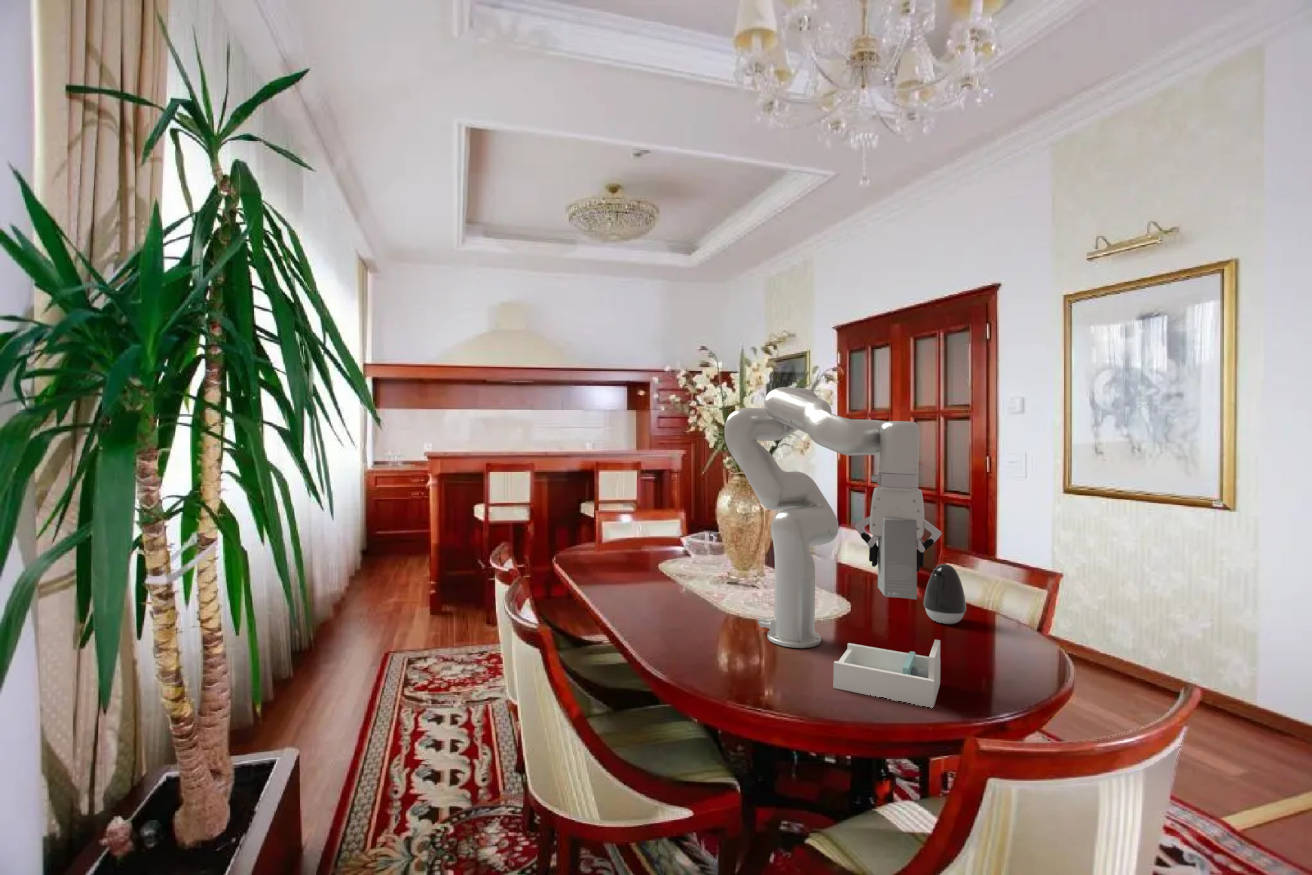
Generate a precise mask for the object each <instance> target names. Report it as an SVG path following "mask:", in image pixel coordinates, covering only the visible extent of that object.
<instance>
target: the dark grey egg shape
mask: <svg viewBox="0 0 1312 875" xmlns="http://www.w3.org/2000/svg"><path fill="white" fill-rule="evenodd" d="M963 587H964V586H963V584H962V581H961V578H960V575H959V574H958V571H956V569H955V567H953V566H952V565H950V564H947V563H946V564H945V563H942V564H938V565H937V566H935V568H934V569H933V570H932V573H931V574H930V576H929V579H928V582H927V584H926V588H925V592H924V598H923V607H924V608H925V613H926V614H927V616H928V617H929V618H930V619H931V620H932V621H934V622H935V621H936V623H938V624H942V623H943V625H954V624H958V623H959V622H960V621H961V620H962V619H963V617H964V615H965V613H966V611H967V602H966V597H965V591H964V588H963Z"/></svg>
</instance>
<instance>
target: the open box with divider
mask: <svg viewBox="0 0 1312 875" xmlns="http://www.w3.org/2000/svg"><path fill="white" fill-rule="evenodd" d="M933 641H934V642H933V644H932V647H931V650H930V653H929V656H927V655H920V654H915V667H916V668H921V669H927V670H929V671H928V678H923V677H918V676H913V675H907V674H903V666H904V664H905V661H906V659H907V657H908V655H909V653H910V652H903V651H897V650H892V649H886V648H879V647H874V646H869V645H868V646H867V645H863V644H856V643H851V642H848V643H847V649H846V650H845V651H844V653H843V654H842V656H841V657H840V658H839V660H834V661H833V676H832V677H833V678H832V679H833V683H832V684H833V685H832V686H833V689H837V690H841V691H846V692H850V693H851V692H852V693H856V694H861V695H866V696H870V695H871V696H870V697H875V696H876V697H875V698H879V697H884V698H887V699H886V700H889V699H891V700H890V701H895V702H898V701H902V702H901V703H903V702H907V703H906V704H908V703H911V704H910V705H913V704H915V705H914V706H918V705H919V706H918V707H922V706H926V707H925V708H927V707H930V708H929V709H932V708H933V707H934V708H935V704H936V700H937V696H938V693H939V690H940V687H941V686H940V685H941V640H939V639H934V640H933ZM884 698H883V699H884ZM934 708H933V709H934Z"/></svg>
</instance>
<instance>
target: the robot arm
mask: <svg viewBox="0 0 1312 875" xmlns="http://www.w3.org/2000/svg"><path fill="white" fill-rule="evenodd" d="M763 406H764V408H762V407H761V408H760V407H759V408H758V407H757V408H756V407H746V408H739V409H737V410H735V411H732V412H731V413H730V414H729V415H728V416H727V418H726V421H725V423H724V431H723V432H724V440H725V444H726V448H727V449H728V451H729V453H730V454H731V456H732V458H733V459H734V461H735V462H736V463H737V465H738V466H739V467H740V469H741V470H742V472H743V475H745V477H746V480H747V481H748V484H749V485H750V486H751V488H752V490H753V492H754V493H755V495H756V497H757V499H758V501H759V503H760V504H761V505H762V507H764V509H766V510H769V511H779V512H778V513H776V514H775V516H774V517H773V519H772V521H771V525H770V533H771V539H772V543H773V544H772V545H773V552H774V553H773V554H774V605H773V606H774V609H773V610H774V616H772V617H771V618H769V617H766V616H758V619H757V623H758V625H759V627H761V628H768V629H769V630H768V631H767V634H766V635H767V639H768V640H769V642H771V643H773V644H775V645H778V646H782V647H784V648H785V647H786V648H793V649H806V648H809V649H810V648H814V647H817V646H819V645H820V644H821V642H822V636H821V634H820V633H818V632H816V631H815V628H816V627H815V624H816V618H815V617H816V615H815V614H816V563H815V561H814V560H815V559H814V558H813V555H812V553H811V550H810V547H816V546H822V545H826V544H830V543H831V542H832V541H833V542H834V540H835V539H836V538H837V536H838V533H839V521H838V518H837V515H836V513H835V511H834V509H832V506H831V505H830V503H829V502H828V500H827V499H826V497H825V495H824V494H823V493H822V491H821V489H820V488H819V486H818V484H817V483H816V482H815V480H814V479H813V478H812V477H811V476H810V475H808V474H807V473H804V472H801V471H785V470H783V469H782V468H781V467H780V466H779V464H778V463H777V461H776V460H775V457H774V456H773V455H772V454H771V452H770V451H769V450H767V449H766V448H765V447H764V446H763V445H761V444H760V442H762V441H763V442H764V441H765V442H775V441H781V440H784V439H785V438H787V437H789V436H790V435H792V434H794V433H795V432H796V431H797V432H798V431H800V432H803V433H805V434H807V435H808V437H809V438H810V439H811V441H813V442H814V443H816V444H817V445H819V446H821V447H823V448H825V449H828V450H830V451H832V452H835V453H837V454H840V455H844V456H876V455H877V456H879V460H878V461H879V462H878V466H879V467H878V472H877V474H871V477H870V478H871V482H875V483H877V485H878V486H876V487H874V488H873V493H872V497H871V503H870V504H871V506H870V515H869V516H867V517H865V518H864V519H862V520H860V521H859V522H858V523H856V524H855V525H854V528H855V530H856V531H857V533H858V535H859V536H860V538H861V539H862V540H863V541H864V542H865V544H866V545H867V546H868V547H869V550H868V551H869V553H868V554H869V555H868V562H871V567H873V568H875V567H877V566H878V539H879V537H882V519H883V518H896V519H913V520H917V573H919V572H920V571H921V568H924V564H925V551H927V550H928V549H929V548H930V547H931V546H932V545H934V544H935V542H937V540H939V538H940V537H941V536H942V531H941V530H939V529H938V528H937V527H936V526H934V525H933V524H931V522H929V521H928V520H926V519H925V506H924V497H923V491H922V489H919V472H920V471H919V470H920V467H919V466H920V434H921V433H920V432H921V431H920V426H919V424H918V423H917V422H914V421H906V420H905V421H903V420H890V421H889V420H888V421H886V420H879V419H853V418H852V419H851V418H846V417H842V416H840V415H837V414H835V413H832V408H831V405H830V404H829V403H828V402H827V401H826V400H824V399H821V398H819V397H818V395H817V394H816V393H815V392H814V391H812V390H811V389H809V388H805V387H804V388H803V387H790V386H788V387H787V386H781V387H777V388H773V389H772V390H770V391H769V392H768V393H767V394H766V396H765V397H764V401H763ZM868 525H869V532H870V534H871V535H872V536H871V535H870V534H869V533H868V532H867V531H866V529H865V527H866V526H868ZM925 530H927V531H928V532H929V533H931V535H930V537H929V538H927V539H926V540H925V541H923V539H922V538H923V536H924V532H925Z"/></svg>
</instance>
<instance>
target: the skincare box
mask: <svg viewBox="0 0 1312 875" xmlns="http://www.w3.org/2000/svg"><path fill="white" fill-rule="evenodd" d="M877 546H878V564H877V588H878V589H879V591H880V592H881V593H882V595H883V596H884V597H887V598H900V599H910V600H917V599H918V572H917V520H913V519H896V518H883V519H882V537H879V539H878V541H877Z"/></svg>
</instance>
